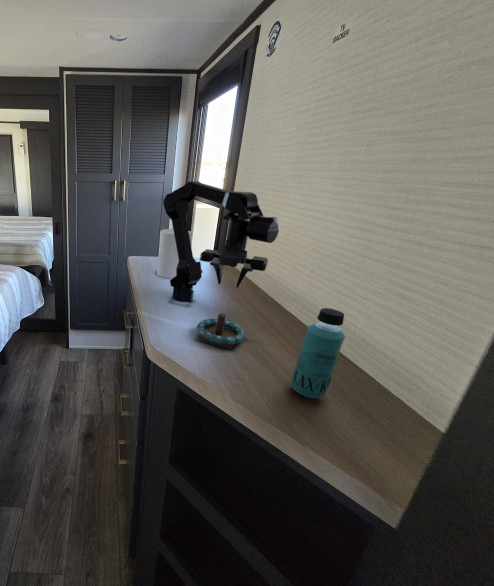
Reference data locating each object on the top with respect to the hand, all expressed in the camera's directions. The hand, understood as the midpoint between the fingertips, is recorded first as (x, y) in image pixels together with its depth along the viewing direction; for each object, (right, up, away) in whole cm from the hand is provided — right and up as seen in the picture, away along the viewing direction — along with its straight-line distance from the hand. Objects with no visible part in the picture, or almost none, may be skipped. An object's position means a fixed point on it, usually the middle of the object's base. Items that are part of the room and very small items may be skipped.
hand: (228, 285), depth 98 cm
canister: (-7, +6, +49) cm, 50 cm away
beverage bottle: (+5, -25, -31) cm, 40 cm away
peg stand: (-6, -15, -8) cm, 18 cm away
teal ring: (-6, -13, -9) cm, 17 cm away
